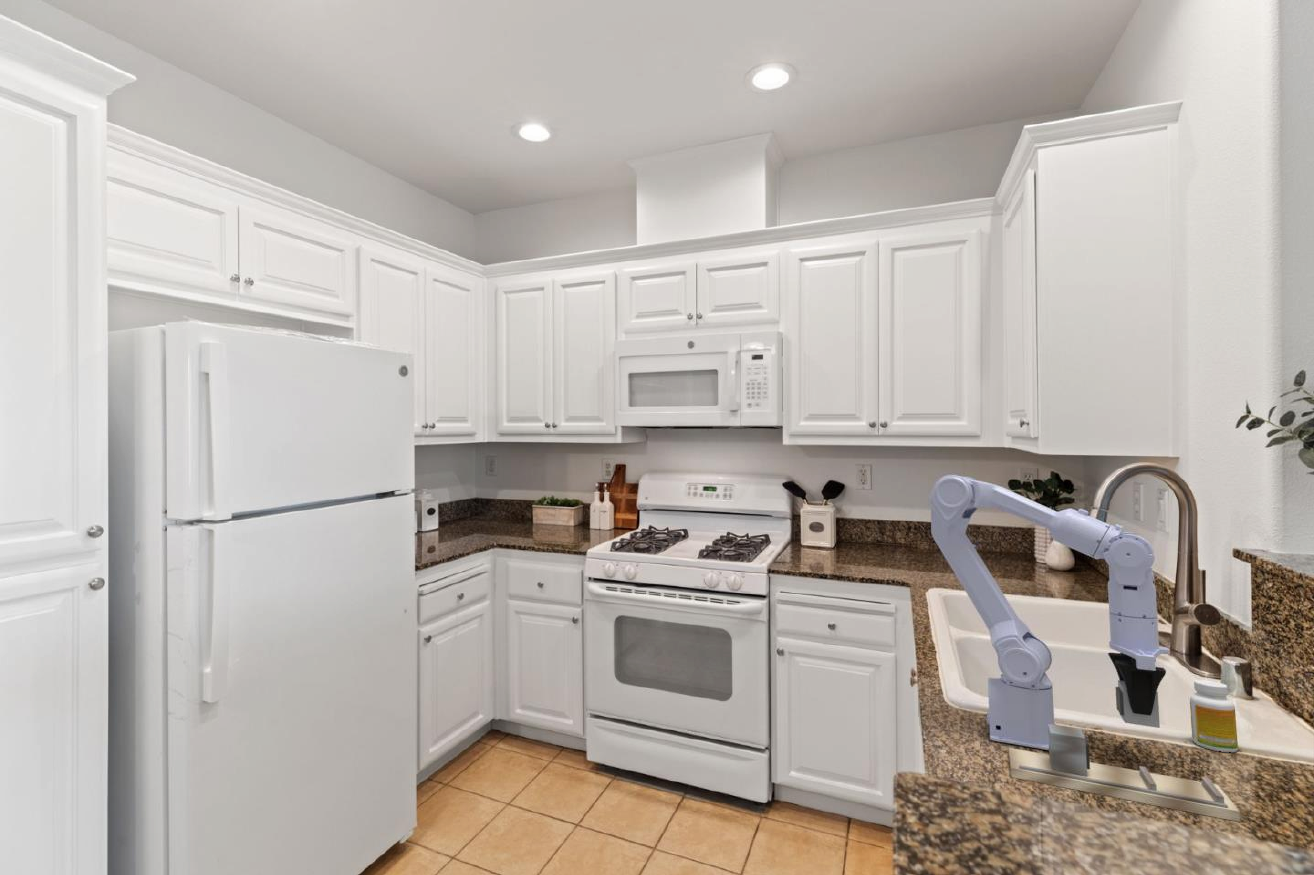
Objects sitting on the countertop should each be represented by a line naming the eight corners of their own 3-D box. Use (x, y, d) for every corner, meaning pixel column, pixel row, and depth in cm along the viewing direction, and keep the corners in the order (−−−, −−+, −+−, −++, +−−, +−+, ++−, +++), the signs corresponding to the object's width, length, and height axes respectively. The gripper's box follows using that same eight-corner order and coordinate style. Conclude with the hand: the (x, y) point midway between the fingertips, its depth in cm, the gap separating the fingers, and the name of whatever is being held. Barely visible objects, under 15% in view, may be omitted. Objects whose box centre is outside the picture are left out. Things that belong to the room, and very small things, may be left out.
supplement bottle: (1247, 755, 94) (1242, 689, 95) (1206, 751, 95) (1202, 686, 96) (1222, 741, 99) (1218, 679, 100) (1184, 738, 100) (1180, 677, 101)
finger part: (1121, 722, 89) (1119, 686, 90) (1116, 713, 93) (1114, 679, 93) (1159, 728, 87) (1157, 691, 88) (1152, 719, 91) (1150, 684, 91)
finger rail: (1011, 776, 85) (1009, 730, 86) (1009, 756, 92) (1007, 713, 93) (1240, 822, 74) (1236, 768, 75) (1218, 794, 81) (1214, 745, 82)
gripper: (1180, 626, 83) (1187, 730, 82) (1154, 609, 96) (1160, 699, 95) (1116, 620, 87) (1122, 720, 85) (1099, 605, 99) (1104, 692, 98)
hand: (1138, 709), depth 90 cm, fingers closed on finger part, 4 cm apart
